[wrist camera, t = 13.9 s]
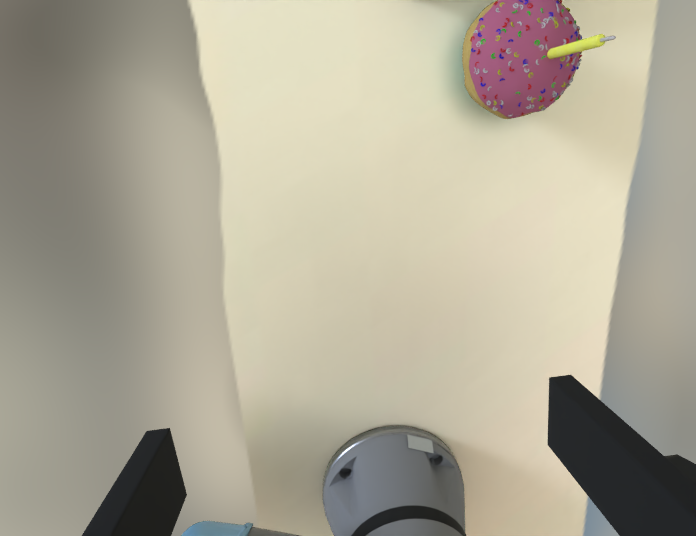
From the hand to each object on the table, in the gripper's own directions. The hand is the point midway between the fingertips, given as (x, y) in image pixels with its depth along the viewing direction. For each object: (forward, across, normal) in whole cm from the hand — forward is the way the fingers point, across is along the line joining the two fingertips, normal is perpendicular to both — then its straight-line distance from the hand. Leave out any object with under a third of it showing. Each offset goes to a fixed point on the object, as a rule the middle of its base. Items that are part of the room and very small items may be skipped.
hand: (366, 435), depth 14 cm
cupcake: (+25, -15, -15) cm, 33 cm away
